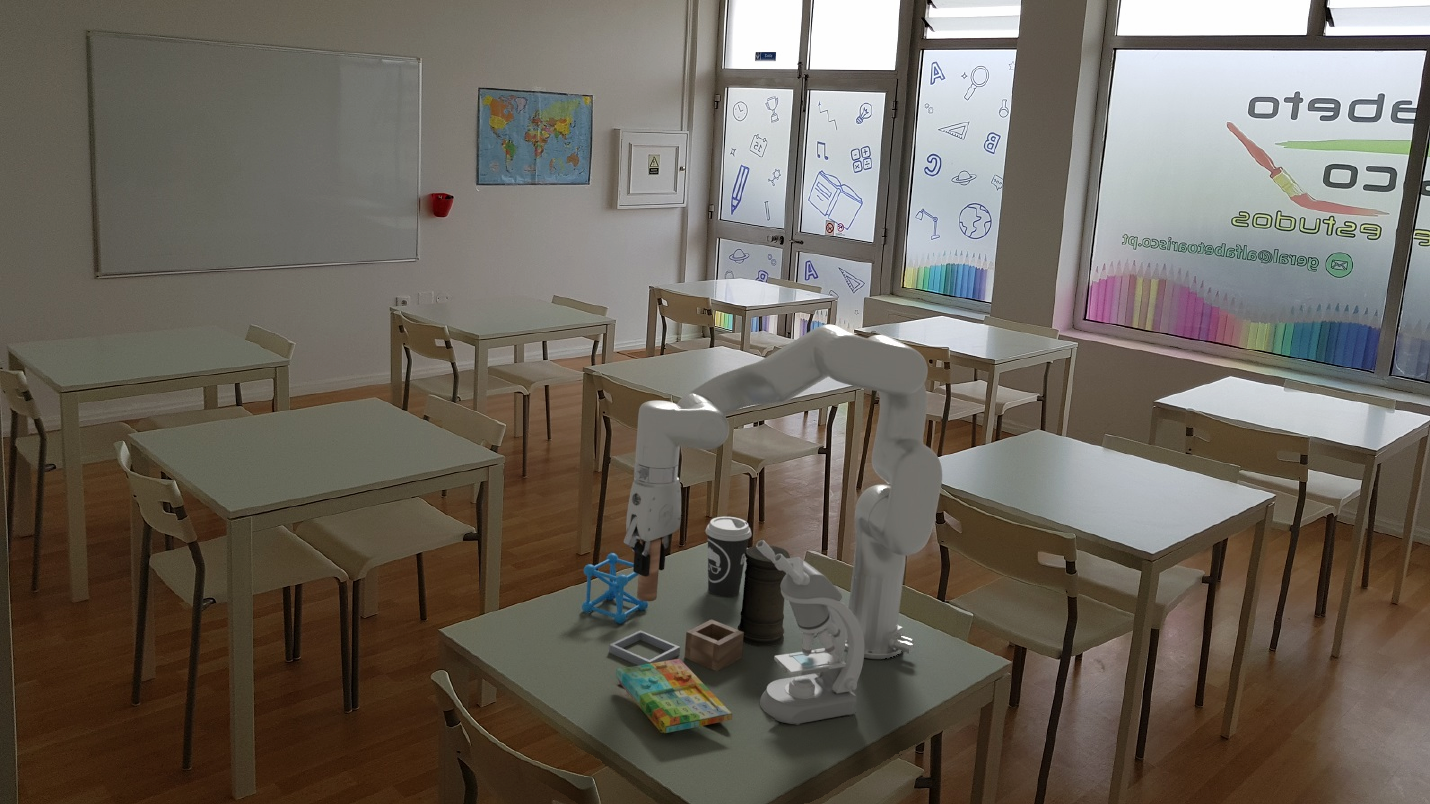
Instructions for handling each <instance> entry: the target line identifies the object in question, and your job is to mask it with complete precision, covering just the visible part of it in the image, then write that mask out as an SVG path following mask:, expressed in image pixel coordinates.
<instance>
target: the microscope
mask: <svg viewBox="0 0 1430 804" xmlns="http://www.w3.org/2000/svg"><path fill="white" fill-rule="evenodd" d="M755 546H756V548H757V549H758V550H759V551H760V552H761V553H762V554H763V555H764V556H765V557H767V558H768V559H770V560H771V561H772V562H773V563H774V564H775V567H776V568H777V569H778V570H783V571H785V573H787V574H786V575H785V577H784V578H783V580H782V582H781V585H780V588H781V593H782V596H783V597H784V600H785V601H788V602H789V605H790V607H791V609H792V613H793V616H794V619H795V621H796V624H797V627H798V629H799V631H801V632H802V640H801V643H802V647H801V648H802V649H801V651H797V652H792V653H784V654H778V655H774V658H773V660H774V661H775V662H776V663H777V666H778V667H779V668H780V669H781V670H782V671H783V672H785V673H788V674H789V675H790V676H792V677H786V678H785V677H784V678H780V679H776V680H773V681H771V682H770V683H768V685H767V686H766V689H765V690H764V691H763V692H762V694H761V695H760V698H759V699H760V700H759V705H760V707H761V710H763V711H764V712H765V713H766V714H767V715H769V716H771V717H772V719H773V720H775V721H778V722H780V723H784V724H787V725H788V724H789V725H796V726H799V725H801V724H805V723H809V722H815V721H820V720H825V719H831V718H837V717H841V716H842V717H843V716H848V715H849V716H853V715H854V714H855V713H856V710H857V702H858V699H857V698H858V697H857V695H856V693H854V692H853V691H854V690H857V688H858V681H859V678H860V675H861V672H862V668H863V666H864V665H863V664H864V660H865V659H864V638H863V633H862V630H861V627H860V625H859V623H858V621H857V619H856V617H855V616H854V614H853V613H852V611H851V610H850V609H849V606H847V604H845V603H844V602H842V599H843V593H841V592H840V590H839V589H838V588H837V587H836V586H835V585H834V584H833V583H832V582H831V580H829V578H828V577H827V576H826V575H824V574H823V573H822V572H820V571H819V570H817V569H816V568H815V567H813V566H812V565H811V564H810V563H808V562H807V561H806V560H803V559H802V558H801V557H799V556H796V557H795V556H793V557H790V558H787V559H786V558H785V557H784V556H783V555H782V554H777V555H775V553H774V552H773V550H772V549H771V547H770V546H771V545H770V546H769V544H768V543H767V542H766V541H765V540H764V539H763V540H762V539H760V540H758V541H757V542H756V545H755ZM846 630H847V633H848V637H849V650H848V652H847V655H846V657H845V660H843V657H844V653H845V644H846ZM816 638H818V640H819V642H820V644H821V645H822V646H823V648H817V649H815V648H814V649H812V648H813V645H814V640H815V639H816ZM795 675H798V676H795Z"/></svg>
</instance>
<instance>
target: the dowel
mask: <svg viewBox="0 0 1430 804" xmlns="http://www.w3.org/2000/svg"><path fill="white" fill-rule="evenodd" d="M643 542H644V541H642V540H640V543H641V544H642V545H643ZM660 547H661V539H660V538H658V539H655V540H652V541H650V546H649V552H648V554H649V555H650V569H649V576H647V577H645V576H642V575H640V574H639V575H638V577H637V591H636V592H637V593H636V599H638V600H641V601H647V602H655V600H657V596H658V584H659V571H660V570H659V560H660Z"/></svg>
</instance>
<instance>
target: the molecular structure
mask: <svg viewBox="0 0 1430 804" xmlns="http://www.w3.org/2000/svg"><path fill="white" fill-rule="evenodd" d="M617 563H618V564H621V565H625V566H628V567H632V568H633V567H634V562H630V561H627V560H623V559H620V558H619V556H618V555H617V554H616V553H614V552H610V553H609V554H608V555H607V556H606V559H605V560H604V561H602V562H599V563H598V564H595V565H593V564H591V563H590V564H587V565H585V566H584V568H583V573H584V575H585V576H587V577H586V597H585V598H586V599H585V600H584V602H582V604H581V609H582V611H583V612H584V613H587V614H588V613H589V612H590V613H592V611H593V612H596V613H599V614H602V615H606V616H608V617H611V618H613V620H614V622H615V623H616V624H623V623H625V622H626V619H627V617H628V616H629V615H630V614H632V613H634V612H635V611H637V610H639V611H642V610H643V611H646V610H647V608H648V605H649V604H648V601H641V600H639V599H638V598H637V597H635V596H633V595H631V594H630V593H628V592H627V591H625V590H624V589H625V588H624V587H625V586H627V585H628V583H629V582H630V581H632V580H633V579H634V578H636V577H637V576H638V575H639V574H637V573H635V572H634V571H633V572H631V573H629V574H628V575H626V574H619V575H617V570H616V564H617ZM608 564H609V573H605V572H603V571H599V570H598V569H599V568H601V567H603V566H605V565H608ZM593 576H594V577H595V578H597V579H599V580H601V581H602V582H603V583H605V584H606V585H608V589H606V590H605V592H604V593H603V594H601V595H600V596H599V597H597V598H596V599H594V600H593V601H591V588H592V587H591V586H592V577H593ZM605 600H607V601H613V600H615V604H616V612H615V613H613V612H611V611H608V610H605V609H601V608H598V607H596V605H597V604H599V603H601V602H603V601H605ZM623 602H626V603H630V604H633V605H635V606H633V607H632V608H631V609H628V610H627V611H625V612H624V611H623V605H624V603H623Z"/></svg>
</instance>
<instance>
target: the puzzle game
mask: <svg viewBox="0 0 1430 804" xmlns="http://www.w3.org/2000/svg"><path fill="white" fill-rule="evenodd" d="M615 671H616V672H615V677H616V679H617V680H618V681H617V682H619V684H620V685H621V686H622V688H623V689H624V691H625V690H626V693H627V694H628V696H629V697H630V698H631V699H632V701H634V702H635V704H636V705H637V706H638V708H640V709H641V711H642V712H643V713H644V714H645V716H646V717H647V718H648V719H649V720H650V722H651V723H652V724H653V725H654V726H655V727H656V729H657V730H658V731H659V732H660V734H667V733H673V732H678V731H683V730H688V729H692V728H697V727H703V726H707V725H712V724H719V723H723V722H728V721H732V720H733V713H732V712H731V711H730V710H729V709H728V708H727V707H726V706H725V704H723V702H722V701H720V699H718V697H717V696H716V695H715V694H714V693H713V692H712V691H711V690H710V689H709V688H708V687H707V685H705V684H704V683H703V682H702V680H700V678H699V677H698V676H697V675H696V674H695V673H694V672H693V671H692V670H691V669H690V668H689V666H687V665H686V663H684V661H682V659H680V658H675V659H674V658H673V659H670V660H668V661H662V662H657V663H651V664H645V665H639V666H638V665H633V666H628V667H622V668H617V669H616V670H615Z"/></svg>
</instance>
